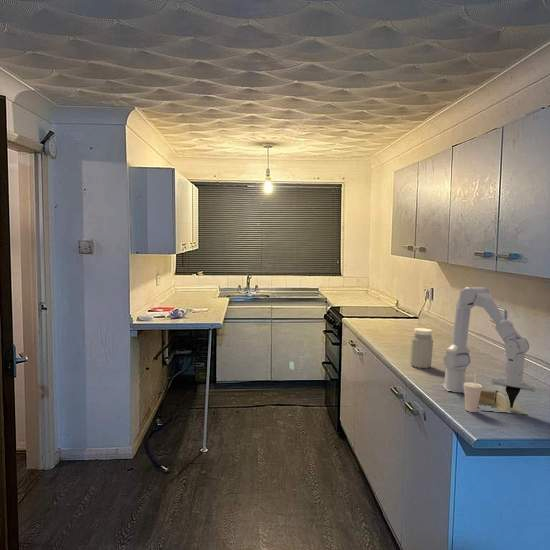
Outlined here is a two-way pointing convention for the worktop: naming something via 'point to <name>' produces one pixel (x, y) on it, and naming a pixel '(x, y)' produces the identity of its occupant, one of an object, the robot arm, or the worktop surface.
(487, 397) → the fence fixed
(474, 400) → the smoothie
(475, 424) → the worktop surface
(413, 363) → the jar
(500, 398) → the fence panel
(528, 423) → the worktop surface
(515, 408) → the mat
